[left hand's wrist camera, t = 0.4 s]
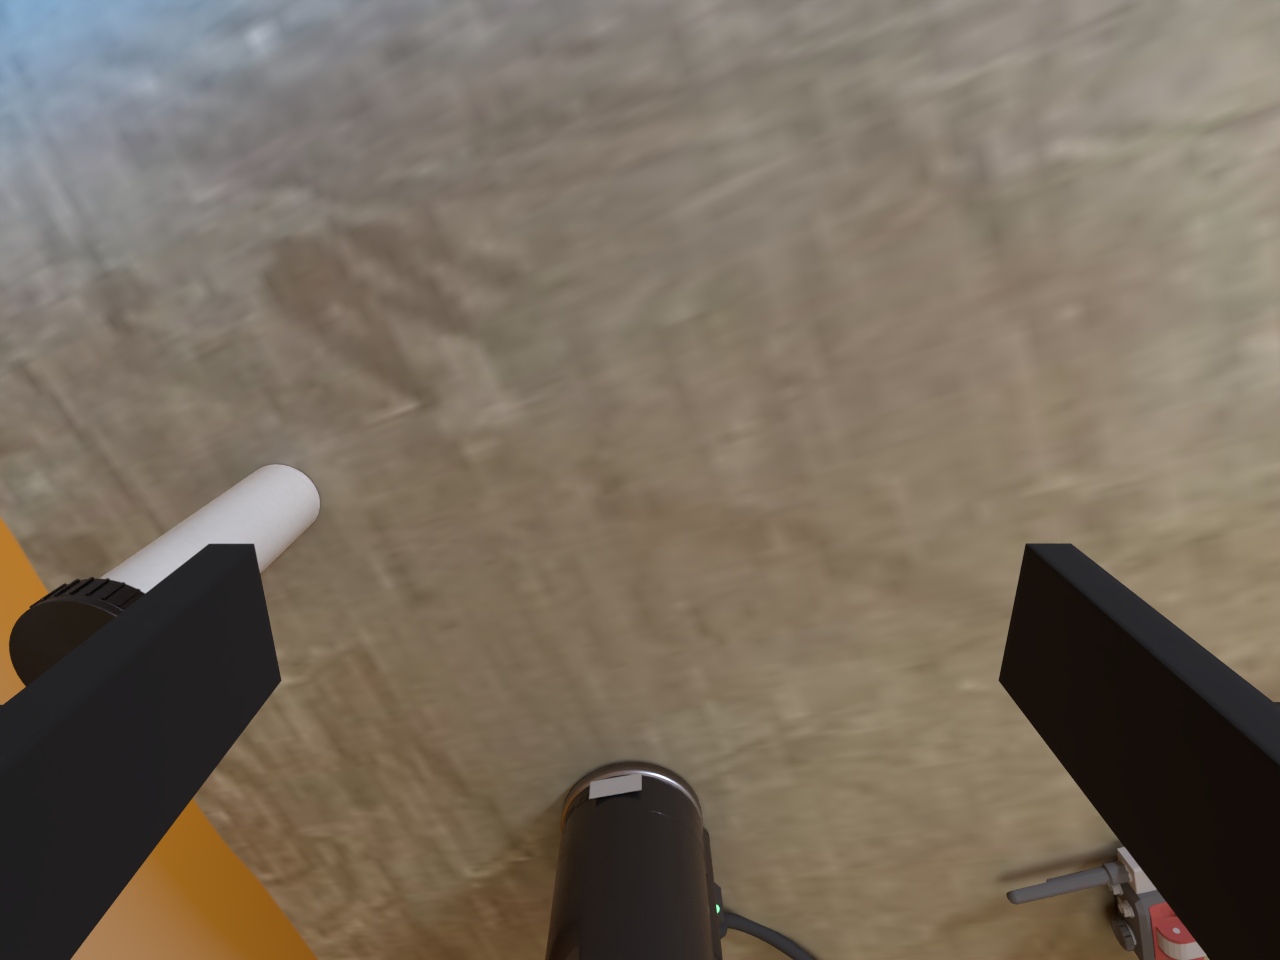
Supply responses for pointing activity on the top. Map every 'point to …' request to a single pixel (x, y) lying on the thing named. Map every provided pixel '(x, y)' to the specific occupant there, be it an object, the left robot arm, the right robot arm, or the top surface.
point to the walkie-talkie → (1127, 909)
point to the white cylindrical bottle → (231, 525)
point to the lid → (65, 622)
